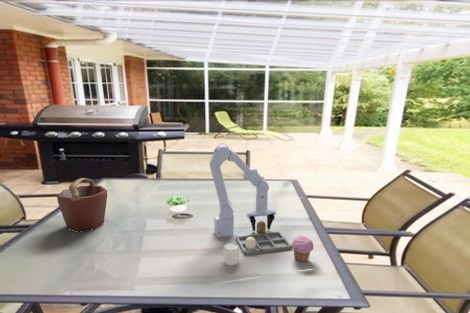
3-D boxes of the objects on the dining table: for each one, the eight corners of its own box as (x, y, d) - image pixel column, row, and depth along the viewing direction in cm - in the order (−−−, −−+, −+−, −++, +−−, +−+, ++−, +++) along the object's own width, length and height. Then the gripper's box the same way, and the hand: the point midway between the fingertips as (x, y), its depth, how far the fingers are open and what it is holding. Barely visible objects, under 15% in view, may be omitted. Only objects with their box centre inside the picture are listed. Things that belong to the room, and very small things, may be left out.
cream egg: (247, 252, 134) (247, 240, 133) (244, 247, 138) (244, 235, 137) (256, 251, 135) (257, 239, 134) (253, 246, 139) (253, 234, 138)
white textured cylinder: (230, 256, 132) (230, 241, 130) (242, 261, 127) (243, 246, 126) (219, 263, 126) (219, 247, 125) (232, 269, 122) (232, 252, 121)
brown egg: (258, 234, 152) (258, 223, 151) (255, 230, 156) (255, 220, 155) (266, 233, 153) (267, 222, 152) (263, 229, 157) (264, 219, 156)
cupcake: (297, 252, 135) (298, 230, 133) (316, 258, 130) (317, 236, 128) (287, 260, 128) (288, 238, 126) (306, 267, 123) (307, 244, 121)
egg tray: (244, 256, 132) (244, 251, 132) (235, 240, 146) (235, 236, 146) (291, 249, 137) (292, 245, 137) (279, 235, 151) (279, 231, 151)
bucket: (88, 237, 149) (83, 187, 144) (48, 233, 153) (42, 185, 148) (117, 218, 172) (113, 174, 167) (81, 215, 177) (77, 172, 172)
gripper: (249, 207, 146) (249, 234, 149) (278, 205, 150) (277, 231, 152) (245, 202, 153) (245, 228, 156) (273, 200, 156) (272, 225, 159)
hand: (261, 229), depth 154 cm, fingers open, 7 cm apart
